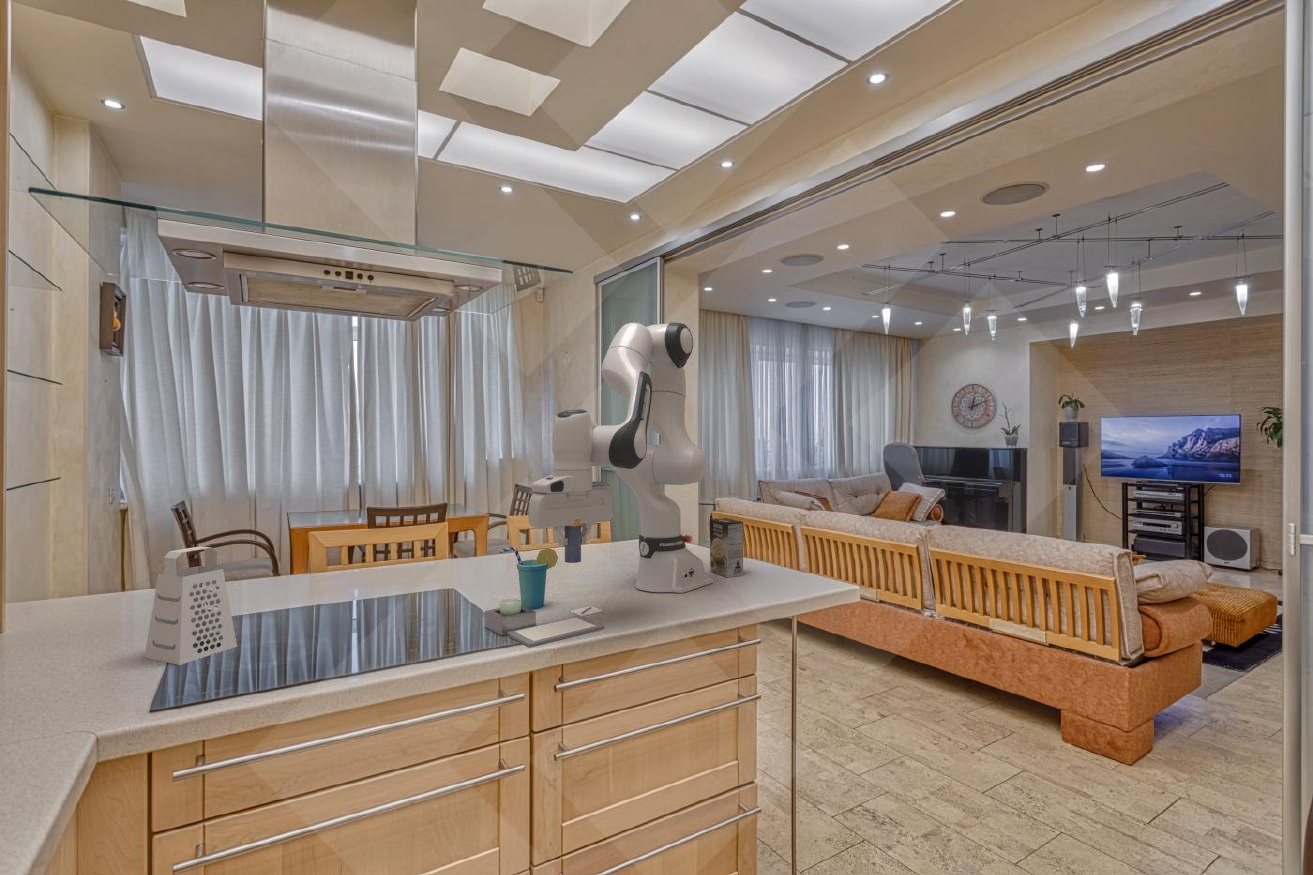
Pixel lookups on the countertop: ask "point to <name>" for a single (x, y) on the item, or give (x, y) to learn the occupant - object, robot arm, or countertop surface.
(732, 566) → the coffee box
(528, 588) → the cup
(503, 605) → the button
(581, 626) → the board
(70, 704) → the countertop surface
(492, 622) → the button housing
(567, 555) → the orange capped blue bottle
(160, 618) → the grater
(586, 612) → the card
